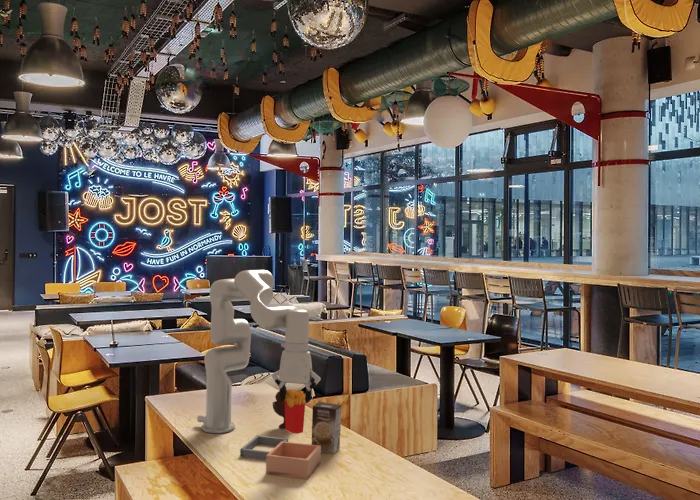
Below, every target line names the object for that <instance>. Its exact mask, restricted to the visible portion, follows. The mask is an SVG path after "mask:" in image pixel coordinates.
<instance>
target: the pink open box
mask: <svg viewBox="0 0 700 500" xmlns="http://www.w3.org/2000/svg"><path fill="white" fill-rule="evenodd" d="M311 444H312V443H311ZM311 444H310V443H303V442H302V443H300V442H292V441H288V442H285V441H281V442H280V443H279V444H278V445H275V447H274V448H272V450H271V451H269V453H268V454H267V455H266V461H265V462H266V463H265V475H273V476H279V477H280V476H281V477H288V478H294V479H301V480H302V479H303V480H309V478H310V477H311V476H312V474H313V473H314V472H315V471H316V469H318V467H319V466H320V465H321V463H322V462H321V461H322V460H321V459H322V458H321V457H322V452H321V446H320V445H311Z"/></svg>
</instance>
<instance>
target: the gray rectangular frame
mask: <svg viewBox="0 0 700 500" xmlns="http://www.w3.org/2000/svg"><path fill="white" fill-rule="evenodd" d="M281 441H285V442H289V438H283V437H276V436H275V437H274V436H266V435H258V434H257V435H256V436H255V437H254V438H252V439H251V440H250V441H248V442H247V443H246V444H245V445H244V446H243V447H241V448H240V451H239V454H240V455H239V457H240V458H241V457H243V458H250V459H257V460H266V455H267V454H268V453H269V452H270V451H267V450H261V449H260V450H259V449H254V448H255V447H256V446H257V445H258V444H259V445H260V444H262V445H271V446H277V445H278V444H279V443H280V442H281Z"/></svg>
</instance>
